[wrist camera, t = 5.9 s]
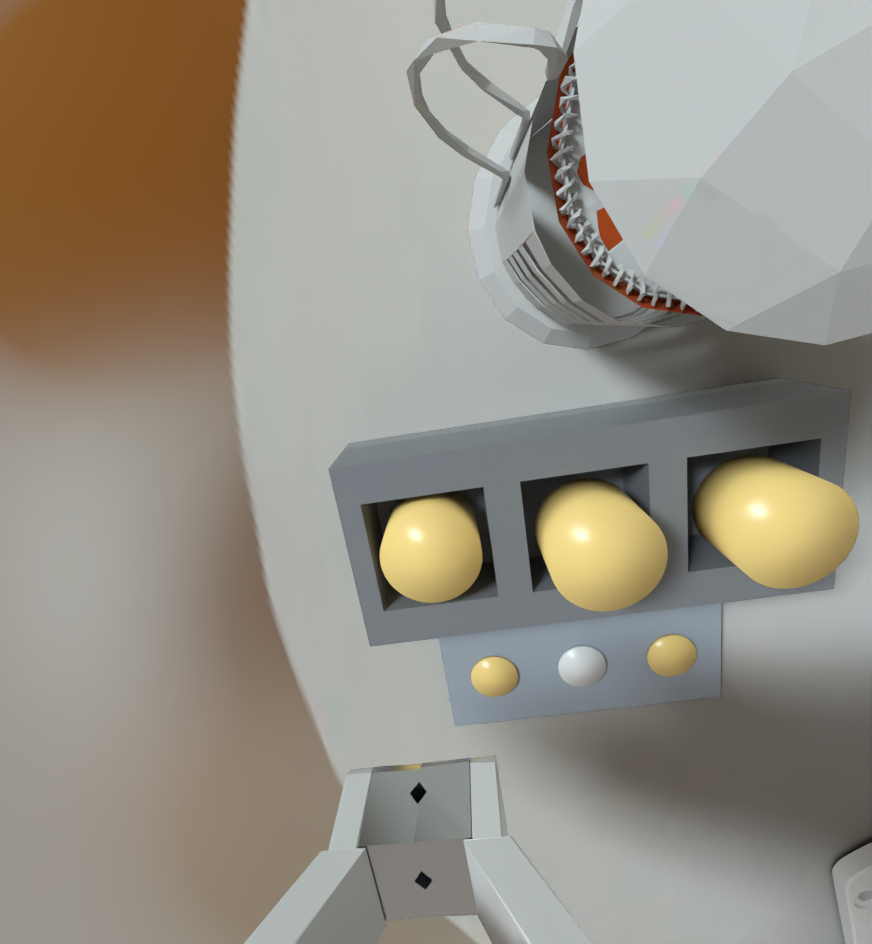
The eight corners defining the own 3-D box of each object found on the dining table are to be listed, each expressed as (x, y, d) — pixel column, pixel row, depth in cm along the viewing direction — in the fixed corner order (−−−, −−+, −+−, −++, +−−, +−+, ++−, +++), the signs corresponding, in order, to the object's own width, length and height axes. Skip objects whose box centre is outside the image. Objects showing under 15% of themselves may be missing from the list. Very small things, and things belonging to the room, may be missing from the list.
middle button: (637, 563, 20) (668, 604, 17) (539, 576, 20) (554, 617, 18) (633, 470, 19) (666, 497, 16) (529, 485, 19) (543, 514, 16)
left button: (483, 560, 22) (488, 595, 20) (397, 572, 23) (389, 608, 20) (471, 478, 21) (475, 502, 18) (380, 491, 22) (370, 517, 19)
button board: (765, 685, 26) (820, 748, 22) (410, 725, 27) (404, 791, 23) (778, 378, 21) (850, 390, 17) (348, 443, 23) (328, 469, 19)
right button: (794, 542, 20) (853, 580, 17) (692, 556, 20) (733, 595, 17) (799, 447, 19) (864, 470, 16) (691, 462, 19) (735, 488, 16)
